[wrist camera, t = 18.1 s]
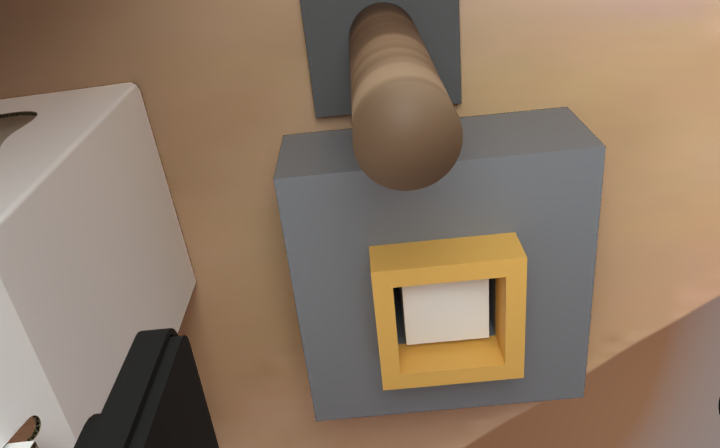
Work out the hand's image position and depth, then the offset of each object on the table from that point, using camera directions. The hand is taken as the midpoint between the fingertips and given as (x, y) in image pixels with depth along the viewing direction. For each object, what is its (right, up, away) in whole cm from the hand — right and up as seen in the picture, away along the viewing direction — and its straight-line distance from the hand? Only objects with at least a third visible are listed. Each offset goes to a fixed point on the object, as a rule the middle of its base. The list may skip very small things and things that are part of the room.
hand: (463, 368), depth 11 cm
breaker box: (+3, +1, +29) cm, 29 cm away
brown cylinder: (-1, +12, +23) cm, 26 cm away
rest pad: (-1, +12, +23) cm, 26 cm away
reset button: (+3, +1, +29) cm, 29 cm away
